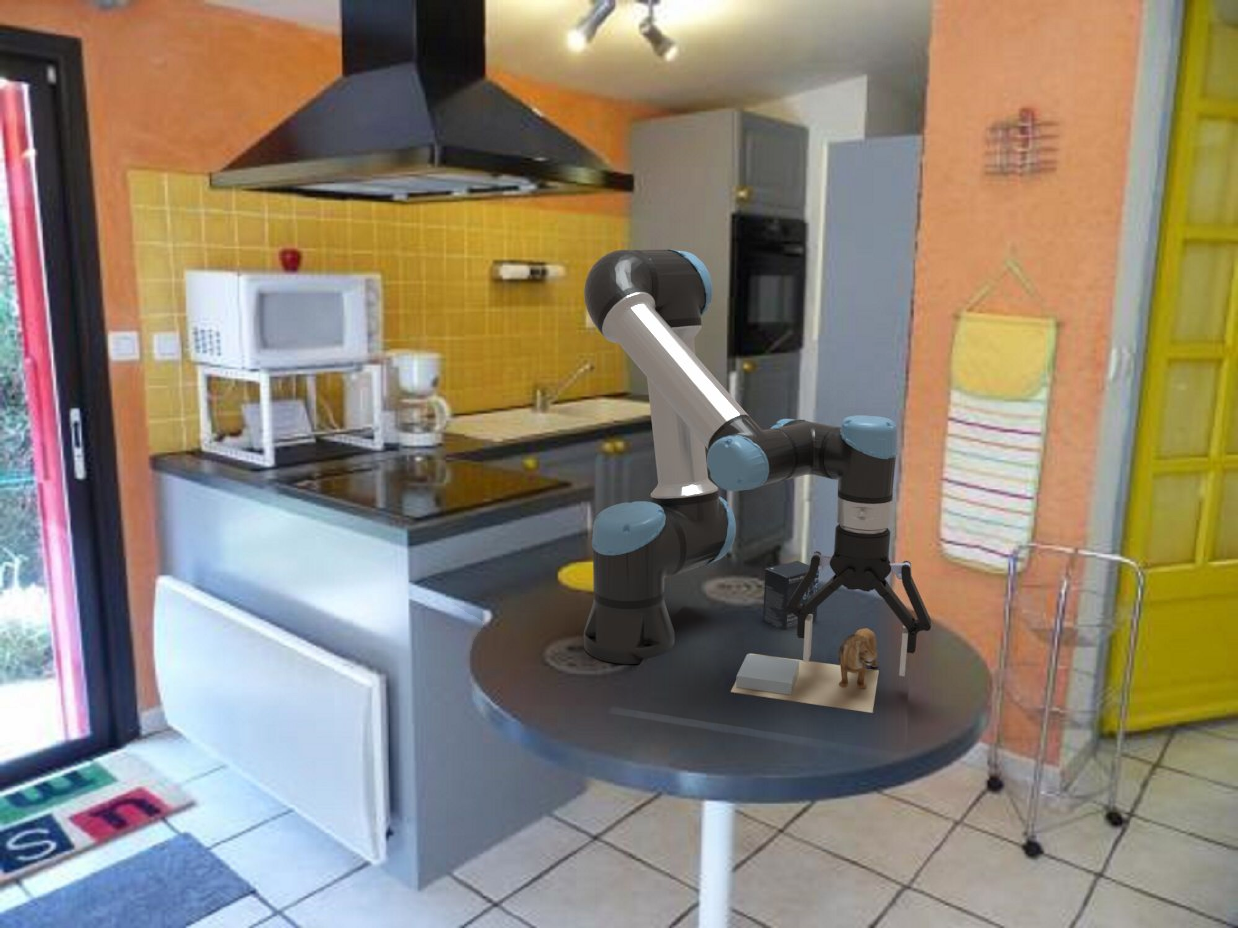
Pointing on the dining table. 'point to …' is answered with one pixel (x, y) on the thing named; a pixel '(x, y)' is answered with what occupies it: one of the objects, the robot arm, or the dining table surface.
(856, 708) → the board
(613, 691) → the dining table surface
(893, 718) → the dining table surface
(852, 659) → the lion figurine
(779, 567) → the box
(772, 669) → the block
